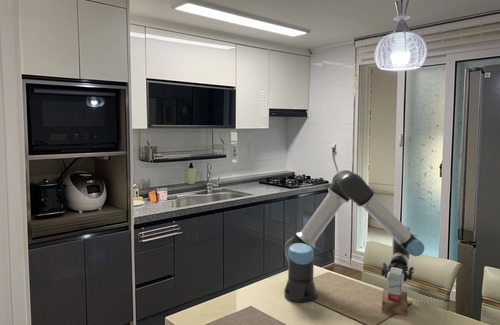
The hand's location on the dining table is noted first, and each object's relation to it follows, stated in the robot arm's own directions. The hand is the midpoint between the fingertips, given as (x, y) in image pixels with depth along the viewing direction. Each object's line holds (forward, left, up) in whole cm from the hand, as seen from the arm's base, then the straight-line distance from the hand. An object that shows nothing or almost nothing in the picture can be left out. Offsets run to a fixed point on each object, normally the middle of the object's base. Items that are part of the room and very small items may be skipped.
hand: (394, 281), depth 163 cm
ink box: (0, +5, -9) cm, 11 cm away
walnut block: (0, +5, -14) cm, 15 cm away
